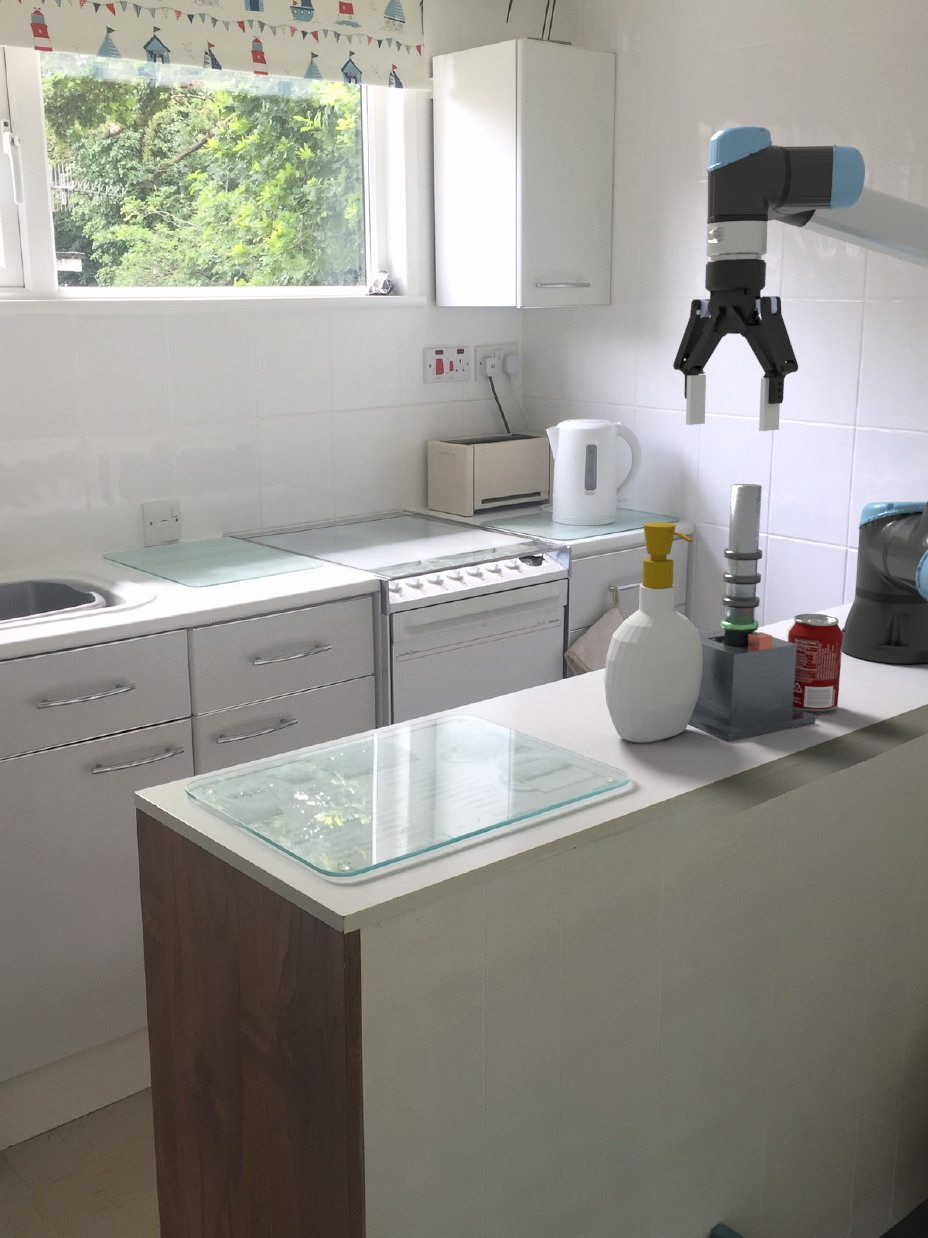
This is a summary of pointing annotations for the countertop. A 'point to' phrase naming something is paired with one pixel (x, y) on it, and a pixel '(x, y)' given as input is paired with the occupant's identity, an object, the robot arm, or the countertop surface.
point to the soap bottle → (654, 653)
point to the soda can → (816, 662)
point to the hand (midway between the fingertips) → (730, 427)
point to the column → (742, 565)
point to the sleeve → (747, 687)
